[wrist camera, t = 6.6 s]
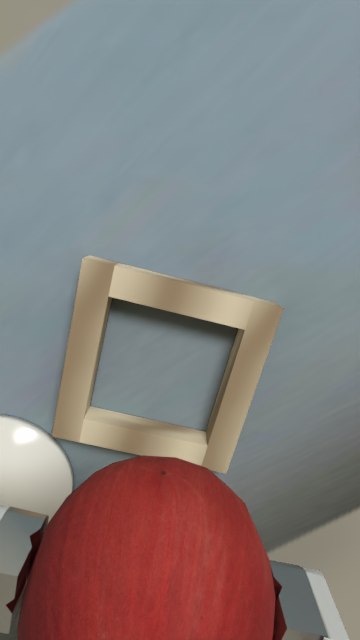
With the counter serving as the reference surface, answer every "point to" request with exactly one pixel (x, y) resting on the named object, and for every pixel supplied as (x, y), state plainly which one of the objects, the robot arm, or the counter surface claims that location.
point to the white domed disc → (32, 468)
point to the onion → (150, 560)
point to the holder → (178, 297)
